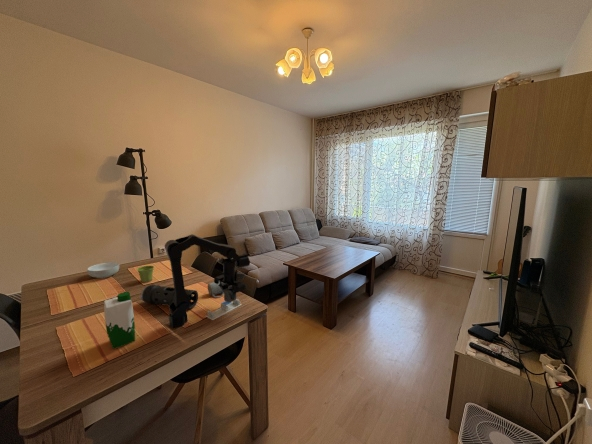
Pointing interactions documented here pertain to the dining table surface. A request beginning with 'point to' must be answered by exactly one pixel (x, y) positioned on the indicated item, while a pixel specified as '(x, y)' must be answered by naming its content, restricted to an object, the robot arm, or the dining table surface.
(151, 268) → the plant pot
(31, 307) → the dining table surface
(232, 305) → the white ridged plate
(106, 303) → the milk carton
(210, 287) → the ceramic mug
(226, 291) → the dark grey knobbed block
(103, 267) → the cereal bowl
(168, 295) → the muzzle brake
